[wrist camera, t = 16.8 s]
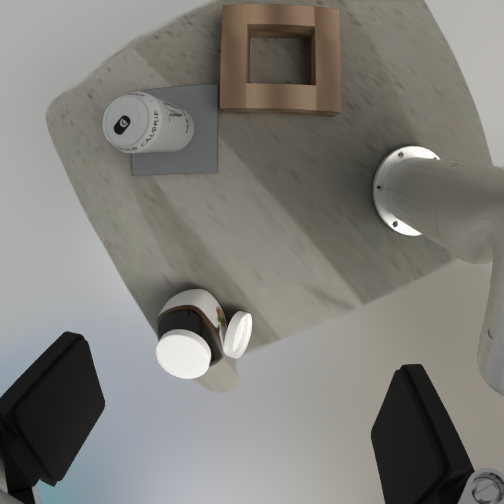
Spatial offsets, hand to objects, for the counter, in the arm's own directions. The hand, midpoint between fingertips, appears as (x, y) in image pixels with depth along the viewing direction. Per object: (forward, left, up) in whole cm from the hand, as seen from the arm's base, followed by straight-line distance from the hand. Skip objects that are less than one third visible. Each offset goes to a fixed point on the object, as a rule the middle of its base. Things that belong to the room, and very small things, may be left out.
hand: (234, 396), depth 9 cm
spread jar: (+7, +17, -35) cm, 40 cm away
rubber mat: (+12, -10, -35) cm, 38 cm away
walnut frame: (-2, -19, -35) cm, 40 cm away
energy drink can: (+12, -10, -35) cm, 38 cm away
